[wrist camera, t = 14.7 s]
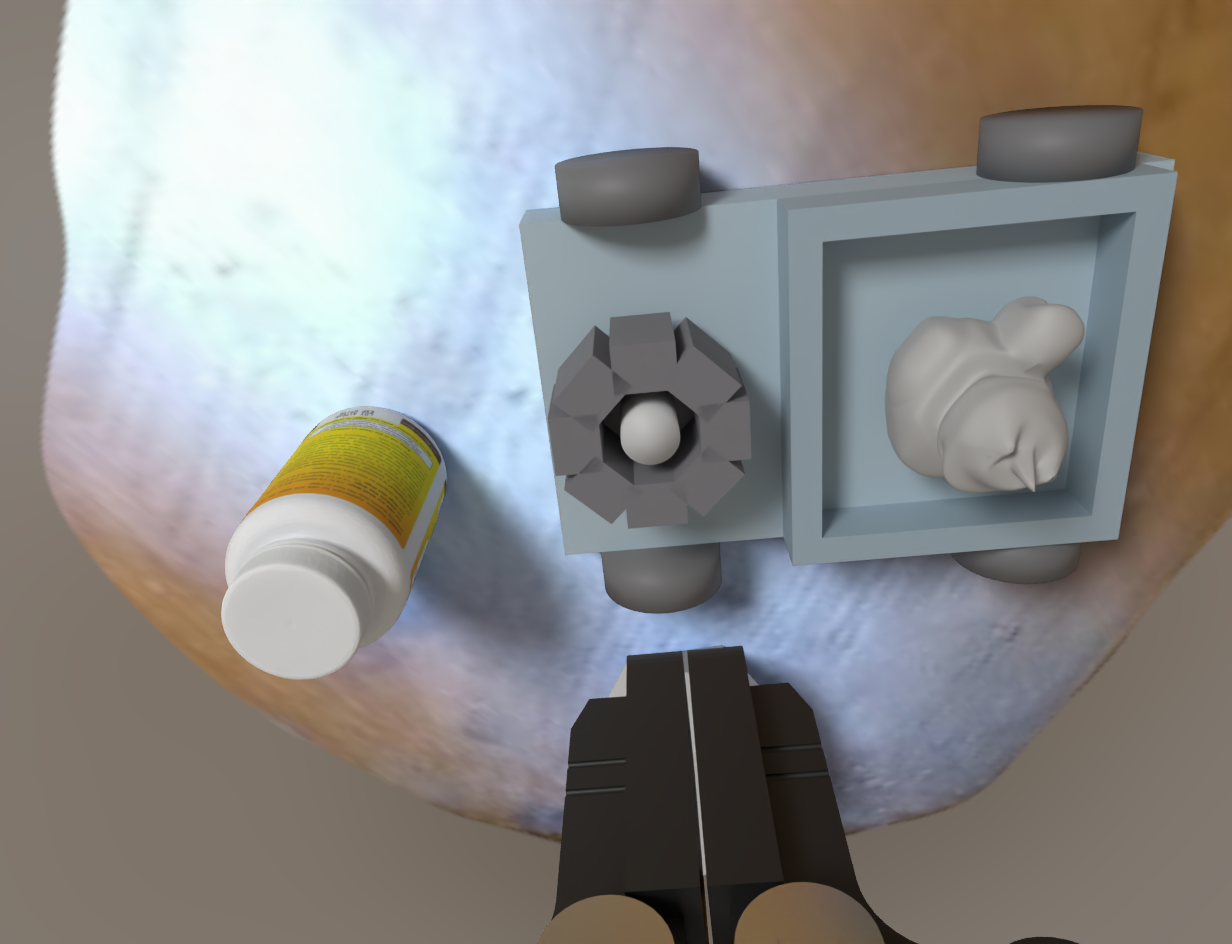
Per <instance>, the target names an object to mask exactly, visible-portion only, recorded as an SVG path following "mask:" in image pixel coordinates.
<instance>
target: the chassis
mask: <svg viewBox="0 0 1232 944" xmlns="http://www.w3.org/2000/svg"><path fill="white" fill-rule="evenodd" d="M1142 115H1143V109H1141V108H1138V107H1131V106H1116V105H1085V106H1062V107H1046V108H1035V109H1025V110H1016V111H1009V112H1002V113H997V114H992V115H988V116H985V117H982V118H981V119H980V127H979V141H978V155H977V166H970V167H960V168H950V169H940V170H930V171H919V172H909V173H899V174H889V175H879V176H869V177H859V178H849V179H839V180H829V181H819V182H809V183H799V184H788V185H778V186H768V187H758V188H748V189H738V190H728V191H718V192H708V193H701V191H700V172H699V154H698V150H696V149H691V148H679V147H664V148H643V149H631V150H621V151H613V152H605V153H598V154H592V155H586V156H581V157H576V158H572V159H568V160H565V161H562V162H559V163H557V164H556V165H555V173H556V181H557V190H558V198H559V206H560V207H557V208H547V209H537V210H526V212H525V214H524V216H523V218H522V220H521V222H520V224H519V227H520V234H521V242H522V249H523V256H524V263H525V270H526V277H527V284H528V292H529V299H530V306H531V313H532V320H533V327H534V334H535V342H536V349H537V356H538V363H539V370H540V377H541V385H542V392H543V399H544V406H545V413H546V420H547V427H548V435H549V442H550V449H551V456H552V463H553V470H554V478H555V485H556V492H557V499H558V506H559V513H560V520H561V528H562V535H563V542H564V549H565V555H572V554H585V553H597V552H601V556H602V565H603V573H604V581H605V589H606V592H607V594H608V595H609V597H610V598H611V599H612V600H613V601H614V602H616V603H617V604H619V605H621V606H622V607H625V608H627V609H630V610H634V611H638V612H643V613H671V612H677V611H682V610H686V609H689V608H692V607H695V606H697V605H699V604H701V603H703V602H705V601H706V600H708V599H709V598H710V597H712V596H713V595H714V594H715V593H716V592H717V590H718V589H719V587H720V584H721V580H722V577H721V558H720V542H729V541H741V540H753V539H765V538H778V537H783V538H784V541H785V544H786V547H787V550H788V553H789V556H790V559H791V562H792V565H793V566H797V565H809V564H822V563H834V562H846V561H858V560H871V559H883V558H895V557H908V556H920V555H932V554H944V553H951V554H952V556H953V557H954V559H955V560H956V561H957V562H958V563H959V564H960V565H962V566H963V567H965V568H966V569H968V570H970V571H971V572H974V573H976V574H978V575H981V576H983V577H986V578H990V579H993V580H997V581H1002V582H1008V583H1018V584H1037V583H1046V582H1051V581H1055V580H1058V579H1061V578H1063V577H1065V576H1067V575H1069V574H1070V573H1071V572H1073V571H1074V570H1075V568H1076V567H1077V565H1078V561H1079V554H1080V547H1081V542H1092V541H1104V540H1116V539H1118V536H1119V530H1120V524H1121V518H1122V512H1123V506H1124V499H1125V493H1126V487H1127V481H1128V475H1129V469H1130V463H1131V457H1132V451H1133V444H1134V438H1135V432H1136V426H1137V420H1138V414H1139V408H1140V402H1141V395H1142V389H1143V383H1144V377H1145V371H1146V365H1147V359H1148V353H1149V346H1150V340H1151V334H1152V328H1153V322H1154V316H1155V310H1156V304H1157V297H1158V291H1159V285H1160V279H1161V273H1162V267H1163V261H1164V255H1165V248H1166V242H1167V236H1168V230H1169V224H1170V218H1171V212H1172V206H1173V199H1174V193H1175V187H1176V181H1177V175H1178V172H1176V171H1173V169H1174V163H1175V160H1174V159H1169V158H1165V157H1160V156H1156V155H1151V154H1147V153H1142V152H1138V151H1137V149H1138V143H1139V136H1140V129H1141V122H1142ZM1021 297H1038V298H1041V299H1043V300H1045V301H1046V302H1047V303H1048V304H1061V305H1065V306H1068V307H1070V308H1072V309H1074V310H1075V311H1076V312H1077V314H1078V315H1079V316H1080V317H1081V319H1082V321H1083V323H1084V327H1085V335H1084V338H1083V340H1082V342H1081V343H1080V345H1079V346H1078V347H1077V348H1076V349H1075V350H1074V351H1073V353H1072V354H1071V355H1070V356H1069V357H1068V358H1067V359H1065V360H1064V361H1063V362H1062V363H1061V364H1060V365H1058V366H1057V367H1055V368H1054V369H1052V370H1051V371H1050V372H1048V373H1047V375H1048V376H1049V378H1050V380H1051V383H1052V387H1053V392H1054V394H1055V396H1056V398H1057V400H1058V403H1059V405H1060V408H1061V410H1062V413H1063V416H1064V419H1065V421H1066V424H1067V429H1068V438H1069V440H1068V447H1067V452H1066V455H1065V458H1064V460H1063V461H1062V464H1061V466H1060V468H1059V470H1058V473H1057V477H1056V478H1055V480H1054V481H1051V482H1049V483H1043V484H1039V485H1036V487H1035V492H1033V491H1032V490H1030V489H1029V488H1028V487H1027V488H1022V489H1019V490H1016V491H1004V490H1000V491H992V492H981V493H972V492H965V491H960V490H957V489H955V488H954V487H952V486H951V485H950V484H948V482H947V481H946V480H945V478H944V477H928V476H924V475H921V474H919V473H917V472H915V471H913V470H912V469H910V468H909V467H907V466H906V465H905V464H904V463H903V462H902V461H901V460H900V459H899V458H898V456H897V455H896V453H895V451H894V449H893V447H892V444H891V441H890V439H889V437H888V433H887V424H886V416H885V391H886V382H887V374H888V369H889V365H890V362H891V359H892V357H893V355H894V353H895V352H896V350H897V349H898V348H899V347H900V345H901V344H902V343H903V342H904V341H905V339H906V338H907V337H908V336H909V335H910V334H911V332H912V331H913V330H914V329H915V328H916V327H917V325H918V324H919V323H920V322H922V321H923V320H924V319H926V318H929V317H934V316H943V317H951V318H957V319H960V318H975V319H979V320H984V321H992V320H993V319H994V318H995V316H996V315H997V313H998V312H999V311H1000V310H1001V309H1002V308H1003V307H1004V306H1005V305H1007V304H1008V303H1010V302H1011V301H1013V300H1015V299H1018V298H1021ZM662 312H670V315H671V321H672V326H673V331H674V330H675V329H676V328H677V326H678V325H679V324H680V323H681V322H682V321H683V320H684V318H685V317H687V318H688V319H689V320H691V321H692V322H693V323H694V324H695V325H697V326H698V327H699V328H700V329H702V330H703V331H704V332H705V333H706V334H708V335H709V336H710V337H711V338H712V339H714V340H715V341H716V342H717V343H718V344H720V345H721V346H722V347H723V348H725V349H726V350H727V351H728V352H729V353H730V354H731V357H732V359H733V362H734V365H735V368H736V367H737V368H738V371H739V373H740V376H741V379H742V382H743V384H744V387H745V390H746V393H747V395H748V398H749V401H750V430H751V458H752V459H747V460H741V461H742V465H743V468H744V472H745V475H744V476H743V477H742V478H741V479H740V480H739V481H738V482H737V483H736V484H735V485H734V486H733V487H732V488H731V489H730V491H729V492H728V493H727V494H726V495H725V496H724V497H723V498H722V499H721V500H720V501H719V502H718V503H717V504H716V505H715V506H714V507H713V508H712V509H711V510H710V511H709V512H708V513H707V514H706V515H705V516H702V515H701V514H700V513H698V512H697V511H696V510H694V509H693V508H692V507H690V506H689V505H688V504H687V512H688V524H679V525H667V526H655V527H643V528H631V529H628V523H627V513H626V510H625V511H624V512H623V513H622V514H621V515H620V516H619V517H618V518H617V519H616V520H615V521H614V522H613V523H612V524H610V523H609V522H608V521H606V520H605V519H604V518H602V517H601V516H599V515H598V514H597V513H595V512H594V511H592V510H591V509H590V508H588V507H587V506H586V505H584V504H583V503H581V502H580V501H579V500H577V499H576V498H574V497H573V496H572V495H570V494H569V493H568V492H566V491H565V490H564V487H565V478H566V475H563V476H555V469H554V462H553V455H552V448H551V441H550V434H549V426H548V413H549V408H550V402H551V397H552V391H553V386H554V384H556V379H557V373H558V369H559V367H560V366H561V365H562V364H563V363H564V362H565V360H566V359H567V358H568V357H569V356H570V354H571V353H572V352H573V351H574V350H575V348H576V347H577V346H578V345H579V344H580V342H581V341H582V340H583V339H584V338H585V336H586V335H587V334H588V333H589V332H590V330H591V329H592V328H593V327H594V326H597V327H598V328H599V329H600V330H602V331H603V332H604V333H605V334H607V335H608V336H609V335H610V317H620V316H630V315H641V314H652V313H662ZM693 417H694V411H693V410H691V409H690V408H689V407H688V406H686V405H685V404H684V403H683V402H681V401H680V400H679V399H678V398H676V397H675V396H674V395H672V394H671V393H670V392H669V391H658V392H647V393H636V394H625V395H624V397H623V398H622V399H621V400H620V401H619V402H618V403H617V405H616V406H615V407H614V408H613V409H612V410H611V411H610V412H609V414H608V415H607V416H606V417H605V418H604V424H605V425H606V426H607V427H609V428H610V429H611V430H613V431H614V432H615V433H616V434H618V435H619V436H620V437H621V445H622V448H623V450H624V451H625V453H626V454H627V455H628V456H629V457H630V458H631V459H632V460H634V461H636V462H638V463H641V464H645V465H655V464H659V463H662V462H664V461H666V460H668V459H669V458H671V457H672V456H673V455H674V453H675V452H676V450H677V449H678V446H679V443H680V431H681V430H682V429H683V428H684V427H685V425H686V424H687V423H688V422H689V421H690V420H691V419H692V418H693Z"/></svg>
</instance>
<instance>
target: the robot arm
mask: <svg viewBox="0 0 1232 944" xmlns="http://www.w3.org/2000/svg"><path fill="white" fill-rule="evenodd" d="M687 656H688V668H689V679H690V691H691V703H692V714H693V726H694V738H695V749H696V761H697V772H698V784H699V796H700V807H701V819H702V830H703V842H704V854H705V865H706V877H707V888H708V897H709V907H710V917H711V926H712V936H713V944H917V943H915V942H913V941H911V940H909V939H907V938H905V937H904V936H902V935H900V934H899V933H897V932H895V931H894V930H893V929H892V928H890V927H889V926H888V925H886V924H885V923H884V922H883V921H882V920H881V919H880V918H879V917H878V916H877V915H876V914H875V913H874V912H873V910H872V909H871V908H870V906H869V905H868V904H867V902H866V900H865V899H864V897H863V895H862V893H861V891H860V888H859V886H858V883H857V880H856V876H855V873H854V868H853V864H852V861H851V857H850V853H849V849H848V845H847V841H846V837H845V834H844V830H843V826H842V822H841V818H840V814H839V810H838V807H837V803H836V799H835V795H834V791H833V787H832V783H831V780H830V777H829V775H828V768H827V764H826V760H825V756H824V753H823V749H822V748H821V741H820V737H819V733H818V729H817V726H816V722H815V718H814V714H813V710H812V709H811V708H810V706H809V705H808V704H807V703H806V702H805V701H804V700H803V699H802V697H801V696H800V695H799V694H798V693H797V692H796V691H795V690H794V688H793V687H792V686H791V685H790V684H789V683H779V684H767V685H755V686H750V685H749V679H748V673H747V667H746V662H745V656H744V651H743V647H742V646H734V647H722V648H710V649H698V650H687ZM568 765H569V769H568V770H567V781H566V797H565V805H564V816H563V828H562V840H561V851H560V864H559V874H558V886H557V898H556V905H555V911H554V914H553V917H552V920H551V922H550V923H549V924H548V925H547V926H546V928H545V929H544V931H543V932H542V934H541V935H540V937H539V939H538V942H537V944H709V938H708V926H707V914H706V901H705V890H704V878H703V865H702V853H701V841H700V829H699V816H698V804H697V792H696V781H695V770H694V759H693V749H692V739H691V729H690V720H689V710H688V701H687V691H686V681H685V672H684V662H683V654H682V651H677V652H665V653H653V654H641V655H629V656H627V673H626V696H622V697H610V698H597V699H589V701H588V703H587V704H586V706H585V707H584V709H583V711H582V712H581V714H580V715H579V717H578V719H577V720H576V722H575V723H574V725H573V727H572V728H571V735H570V746H569V758H568ZM1010 944H1078V943H1075V942H1072V941H1069V940H1065V939H1059V938H1054V937H1032V938H1025V939H1021V940H1018V941H1015V942H1012V943H1010Z"/></svg>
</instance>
